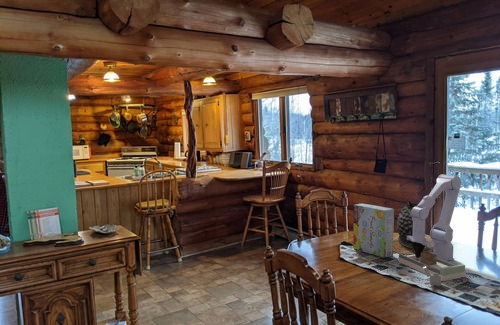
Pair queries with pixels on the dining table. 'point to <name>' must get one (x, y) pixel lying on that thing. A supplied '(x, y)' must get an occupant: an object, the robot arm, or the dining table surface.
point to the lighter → (433, 277)
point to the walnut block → (428, 258)
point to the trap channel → (434, 267)
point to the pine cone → (405, 225)
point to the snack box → (373, 229)
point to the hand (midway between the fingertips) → (418, 257)
